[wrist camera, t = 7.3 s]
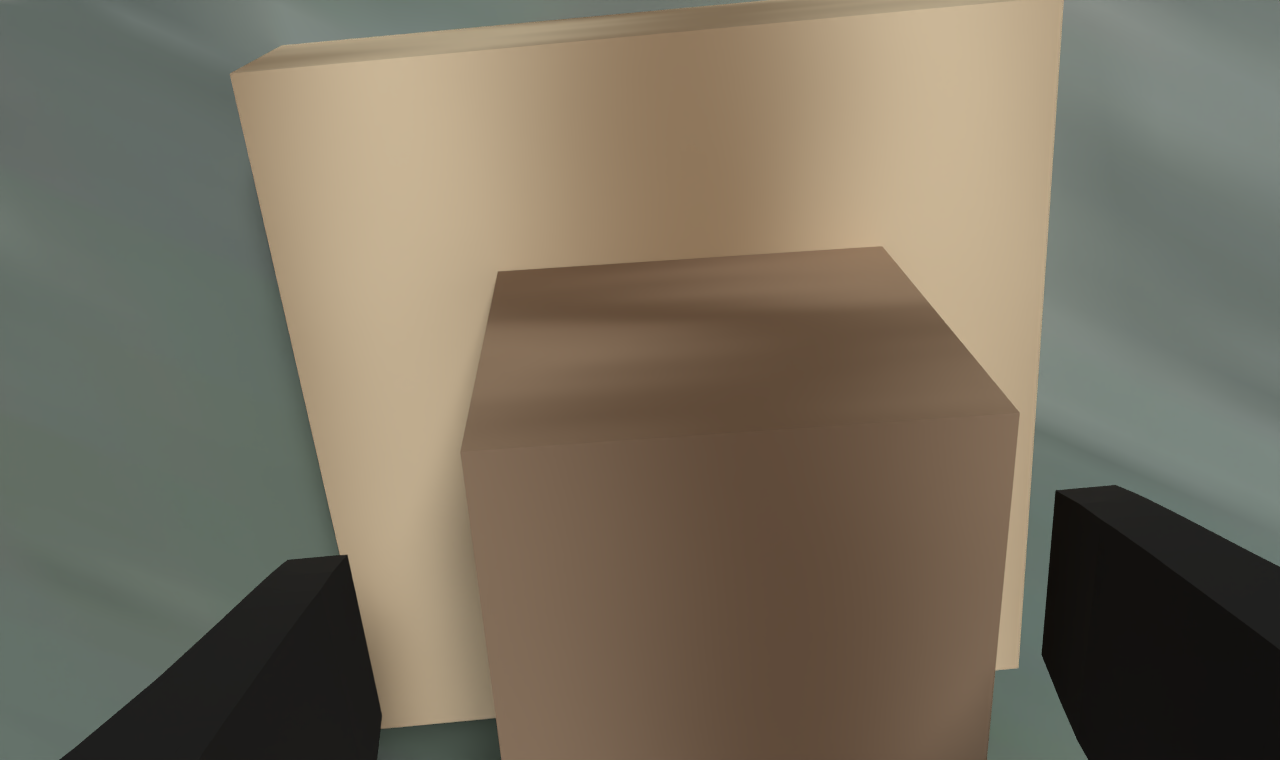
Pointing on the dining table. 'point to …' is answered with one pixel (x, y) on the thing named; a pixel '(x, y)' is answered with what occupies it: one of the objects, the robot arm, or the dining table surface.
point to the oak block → (621, 232)
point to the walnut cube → (736, 513)
